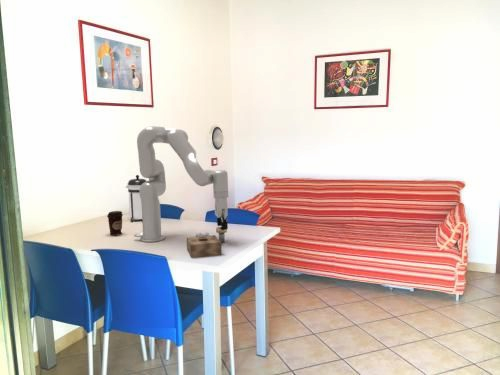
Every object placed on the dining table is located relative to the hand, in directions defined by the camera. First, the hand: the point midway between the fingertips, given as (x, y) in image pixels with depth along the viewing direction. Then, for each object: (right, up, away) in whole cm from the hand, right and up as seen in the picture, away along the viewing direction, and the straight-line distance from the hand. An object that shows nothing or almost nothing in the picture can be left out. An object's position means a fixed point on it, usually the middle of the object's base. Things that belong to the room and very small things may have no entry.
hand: (222, 227), depth 210 cm
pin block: (-8, -10, -17) cm, 21 cm away
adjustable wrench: (-14, -8, +6) cm, 17 cm away
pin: (0, -8, +1) cm, 8 cm away
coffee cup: (-61, -6, +21) cm, 65 cm away
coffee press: (-58, -1, +61) cm, 84 cm away
